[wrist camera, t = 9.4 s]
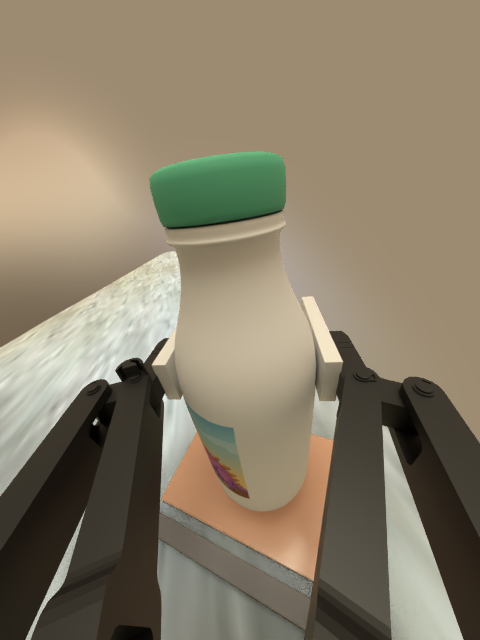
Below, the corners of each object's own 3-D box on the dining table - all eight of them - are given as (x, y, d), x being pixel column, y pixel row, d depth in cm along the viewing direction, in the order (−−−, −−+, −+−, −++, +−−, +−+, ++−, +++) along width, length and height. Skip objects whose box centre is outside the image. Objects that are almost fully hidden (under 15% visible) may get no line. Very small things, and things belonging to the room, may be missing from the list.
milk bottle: (289, 406, 21) (290, 164, 10) (324, 503, 14) (431, 99, 4) (215, 420, 20) (138, 187, 10) (216, 525, 14) (-12, 161, 3)
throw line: (138, 525, 18) (131, 520, 17) (148, 508, 18) (142, 502, 18) (381, 678, 11) (389, 682, 10) (377, 640, 12) (384, 640, 11)
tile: (163, 501, 19) (161, 498, 18) (212, 408, 26) (211, 405, 26) (357, 605, 13) (359, 604, 13) (347, 447, 21) (348, 445, 20)
